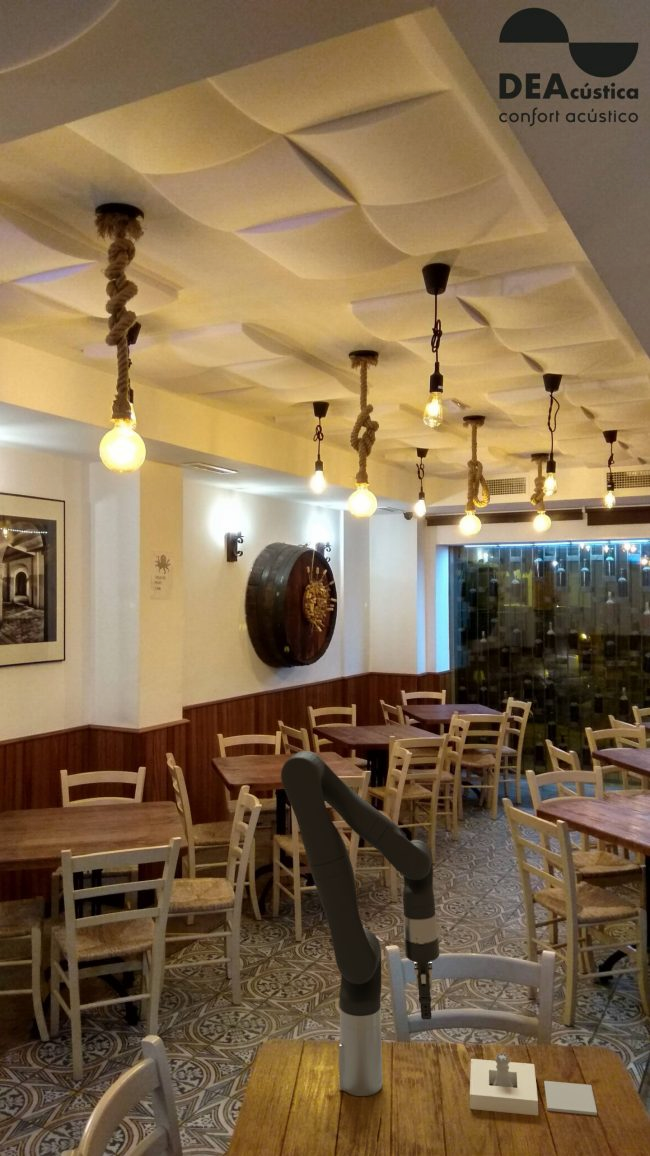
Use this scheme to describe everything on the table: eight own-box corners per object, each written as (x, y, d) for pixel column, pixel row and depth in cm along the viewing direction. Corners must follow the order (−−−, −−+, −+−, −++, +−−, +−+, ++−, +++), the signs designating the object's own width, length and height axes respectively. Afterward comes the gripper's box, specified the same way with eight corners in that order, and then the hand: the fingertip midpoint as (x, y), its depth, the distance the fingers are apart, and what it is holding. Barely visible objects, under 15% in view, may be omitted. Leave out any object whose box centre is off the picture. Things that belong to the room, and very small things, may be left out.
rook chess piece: (514, 1099, 176) (512, 1062, 177) (492, 1097, 177) (491, 1060, 177) (513, 1088, 181) (512, 1051, 181) (492, 1086, 181) (491, 1049, 182)
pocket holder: (470, 1108, 173) (469, 1094, 173) (471, 1072, 187) (471, 1058, 187) (538, 1115, 171) (537, 1100, 171) (534, 1077, 184) (534, 1064, 184)
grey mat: (547, 1110, 172) (547, 1107, 172) (544, 1083, 182) (544, 1080, 182) (597, 1115, 170) (597, 1112, 170) (591, 1087, 180) (591, 1084, 180)
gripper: (404, 922, 189) (409, 994, 188) (403, 948, 175) (409, 1025, 174) (437, 922, 188) (442, 993, 188) (438, 947, 174) (444, 1025, 173)
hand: (426, 1009), depth 181 cm, fingers open, 8 cm apart
